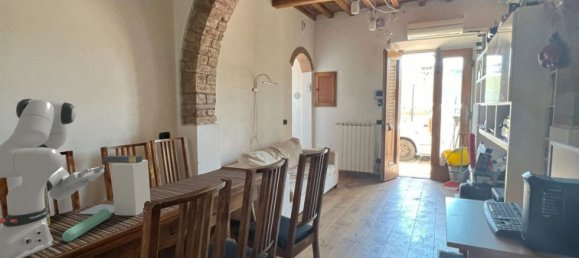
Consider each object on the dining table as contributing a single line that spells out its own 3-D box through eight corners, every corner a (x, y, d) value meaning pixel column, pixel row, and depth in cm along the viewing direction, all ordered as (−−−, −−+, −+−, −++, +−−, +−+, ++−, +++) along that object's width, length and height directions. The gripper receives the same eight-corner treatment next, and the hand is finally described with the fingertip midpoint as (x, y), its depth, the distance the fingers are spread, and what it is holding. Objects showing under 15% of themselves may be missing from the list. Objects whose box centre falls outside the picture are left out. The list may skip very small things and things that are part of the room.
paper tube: (27, 229, 136) (22, 174, 134) (44, 223, 143) (39, 171, 141) (38, 230, 134) (32, 175, 132) (54, 224, 140) (49, 172, 138)
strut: (138, 162, 152) (137, 156, 151) (102, 162, 155) (102, 156, 154) (143, 161, 156) (142, 155, 155) (108, 161, 158) (108, 155, 158)
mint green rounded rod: (68, 228, 120) (107, 206, 145) (55, 234, 121) (96, 211, 146) (75, 241, 121) (113, 217, 146) (62, 247, 121) (102, 221, 146)
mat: (109, 215, 151) (109, 214, 151) (78, 214, 153) (78, 213, 153) (128, 206, 165) (128, 205, 165) (99, 205, 167) (99, 204, 167)
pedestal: (136, 215, 150) (132, 164, 148) (114, 214, 151) (110, 164, 149) (150, 207, 162) (147, 159, 159) (130, 206, 163) (127, 159, 161)
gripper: (56, 180, 150) (76, 166, 147) (89, 171, 170) (107, 159, 167) (63, 191, 149) (83, 177, 147) (95, 181, 170) (113, 169, 167)
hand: (96, 167), depth 157 cm, fingers open, 8 cm apart
